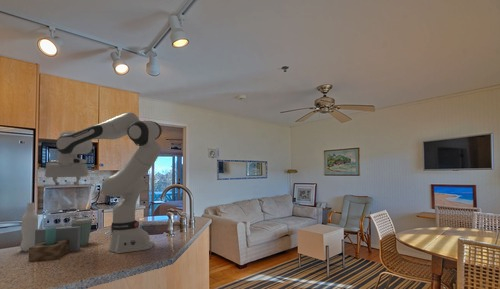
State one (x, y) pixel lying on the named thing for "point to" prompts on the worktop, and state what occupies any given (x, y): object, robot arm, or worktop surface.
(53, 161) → the robot arm
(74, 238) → the wall
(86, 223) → the disposable coffee cup
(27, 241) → the water bottle
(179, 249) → the worktop surface
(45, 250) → the socket block
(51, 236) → the dowel
